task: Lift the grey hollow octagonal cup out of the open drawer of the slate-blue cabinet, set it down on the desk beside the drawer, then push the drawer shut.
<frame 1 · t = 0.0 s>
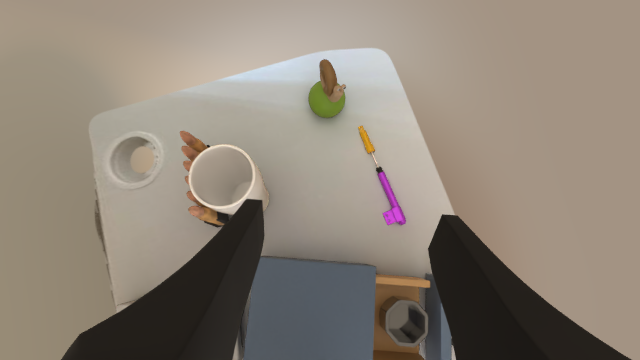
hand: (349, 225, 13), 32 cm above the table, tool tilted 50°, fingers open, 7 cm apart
grey hollow octagonal cup: (398, 316, 40), point 2 cm above the table, touching drawer
cabinet: (311, 306, 42), on the table
purple bicycle pump: (375, 176, 47), on the table
drawer: (405, 319, 39), point 3 cm above the table, slide at 8.0 cm, touching grey hollow octagonal cup
ammunition clip: (218, 190, 46), on the table
snail figurine: (327, 110, 49), on the table
drinking glass: (251, 199, 45), on the table
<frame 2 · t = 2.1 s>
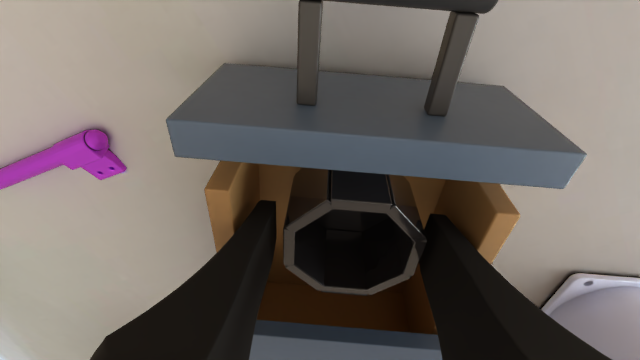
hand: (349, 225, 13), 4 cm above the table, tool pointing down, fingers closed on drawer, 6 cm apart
grey hollow octagonal cup: (349, 190, 15), point 2 cm above the table, touching drawer
cabinet: (329, 295, 23), on the table
purple bicycle pump: (21, 182, 18), on the table
drawer: (351, 204, 13), point 3 cm above the table, slide at 8.0 cm, touching grey hollow octagonal cup, gripper
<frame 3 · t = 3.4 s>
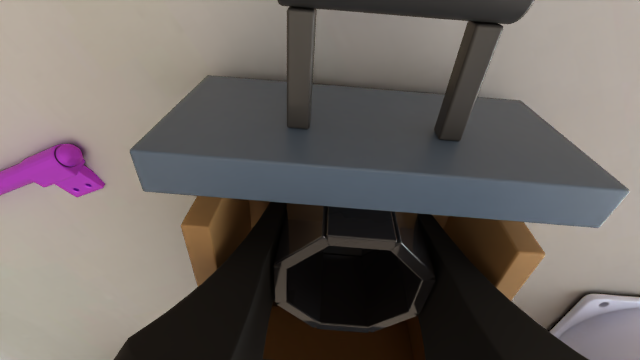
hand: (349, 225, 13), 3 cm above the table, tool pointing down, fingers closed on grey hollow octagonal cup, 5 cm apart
grey hollow octagonal cup: (347, 213, 13), point 2 cm above the table, touching drawer, gripper
drawer: (350, 231, 12), point 3 cm above the table, slide at 8.0 cm, touching grey hollow octagonal cup
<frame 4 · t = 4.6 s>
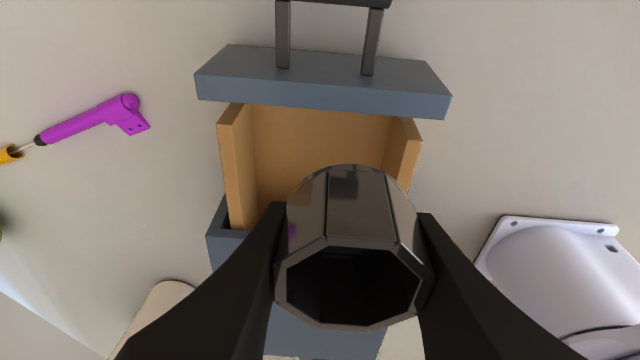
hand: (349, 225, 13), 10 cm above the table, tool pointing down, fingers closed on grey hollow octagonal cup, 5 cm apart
grey hollow octagonal cup: (347, 213, 13), point 9 cm above the table, touching gripper
cabinet: (311, 240, 28), on the table
purple bicycle pump: (65, 140, 23), on the table
drawer: (319, 146, 18), point 3 cm above the table, slide at 8.0 cm
drinking glass: (179, 291, 34), on the table
when the fingers open (1 cm above the table, at t = 8.4 s): grey hollow octagonal cup stays where it is, on the table.
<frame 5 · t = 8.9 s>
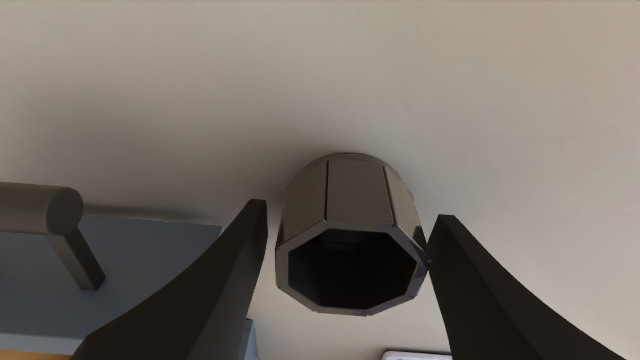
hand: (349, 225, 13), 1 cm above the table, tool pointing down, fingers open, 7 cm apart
grey hollow octagonal cup: (347, 202, 14), on the table
drawer: (96, 327, 14), point 3 cm above the table, slide at 8.0 cm, touching gripper
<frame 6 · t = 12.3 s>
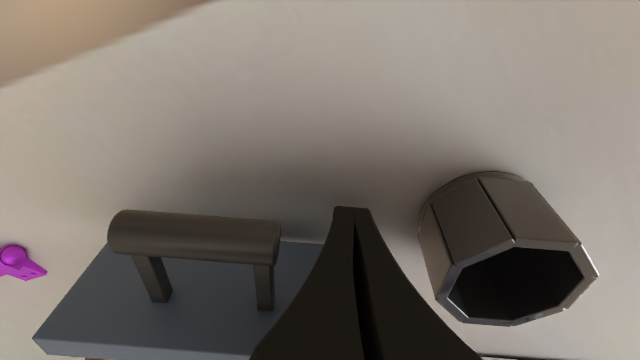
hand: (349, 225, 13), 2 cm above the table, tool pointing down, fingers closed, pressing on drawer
grey hollow octagonal cup: (475, 216, 14), on the table
drawer: (232, 341, 15), point 3 cm above the table, slide at 7.5 cm, touching gripper
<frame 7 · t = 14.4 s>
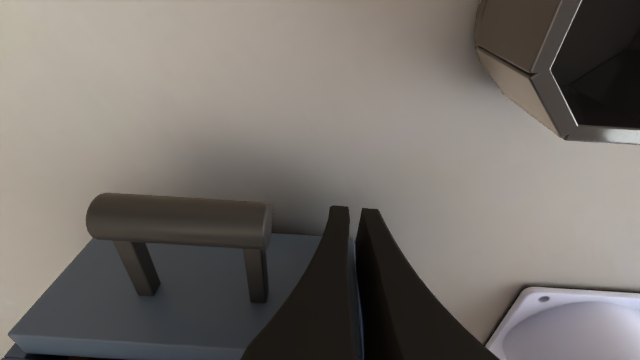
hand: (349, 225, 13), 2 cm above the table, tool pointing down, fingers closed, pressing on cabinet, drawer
grey hollow octagonal cup: (563, 9, 9), on the table
cabinet: (249, 317, 19), on the table
drawer: (226, 340, 14), point 3 cm above the table, slide at 0.0 cm, touching cabinet, gripper
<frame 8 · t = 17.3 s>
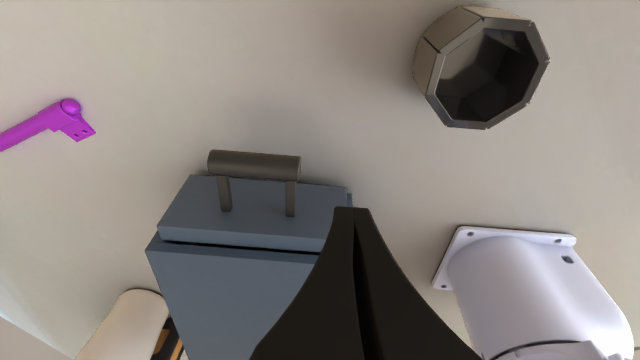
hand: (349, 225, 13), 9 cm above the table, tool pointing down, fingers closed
grey hollow octagonal cup: (459, 56, 17), on the table
cabinet: (273, 249, 28), on the table
purple bicycle pump: (16, 147, 23), on the table
drawer: (264, 251, 23), point 3 cm above the table, slide at 0.0 cm
ammunition clip: (150, 322, 37), on the table
drinking glass: (148, 299, 34), on the table
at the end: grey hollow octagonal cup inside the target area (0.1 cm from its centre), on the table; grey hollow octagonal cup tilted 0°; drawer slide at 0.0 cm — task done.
